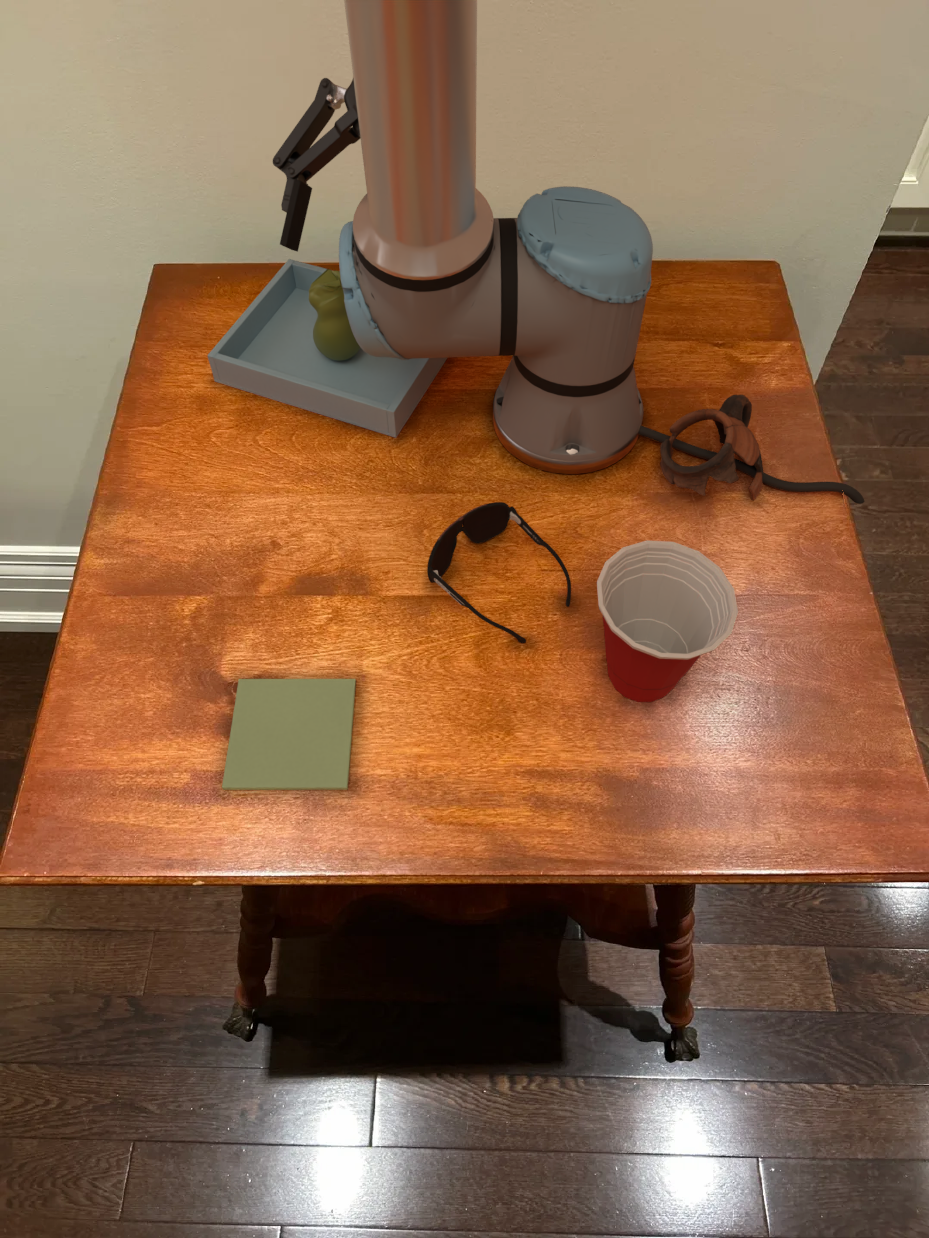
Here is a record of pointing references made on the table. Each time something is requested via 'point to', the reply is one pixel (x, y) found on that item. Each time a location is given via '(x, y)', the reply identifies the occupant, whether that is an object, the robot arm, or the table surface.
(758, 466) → the brown piece
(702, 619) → the plastic cup
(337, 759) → the coaster
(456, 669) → the table surface
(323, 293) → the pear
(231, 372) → the tray
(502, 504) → the sunglasses
